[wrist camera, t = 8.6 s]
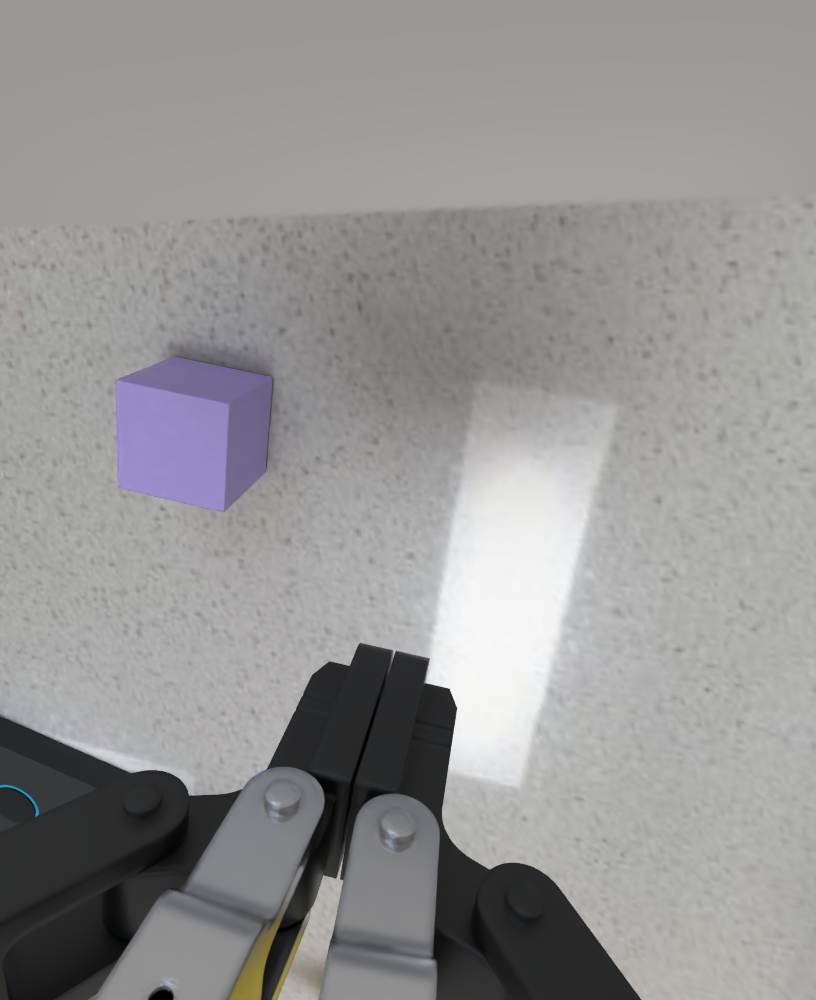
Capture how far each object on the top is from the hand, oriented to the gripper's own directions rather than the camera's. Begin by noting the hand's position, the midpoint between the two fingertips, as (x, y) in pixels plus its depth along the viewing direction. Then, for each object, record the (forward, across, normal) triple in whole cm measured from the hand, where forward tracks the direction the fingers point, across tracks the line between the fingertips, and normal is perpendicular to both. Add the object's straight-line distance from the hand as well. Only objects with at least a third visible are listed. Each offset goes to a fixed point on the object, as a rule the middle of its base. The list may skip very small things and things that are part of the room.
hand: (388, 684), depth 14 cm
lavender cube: (+14, +10, 0) cm, 17 cm away
